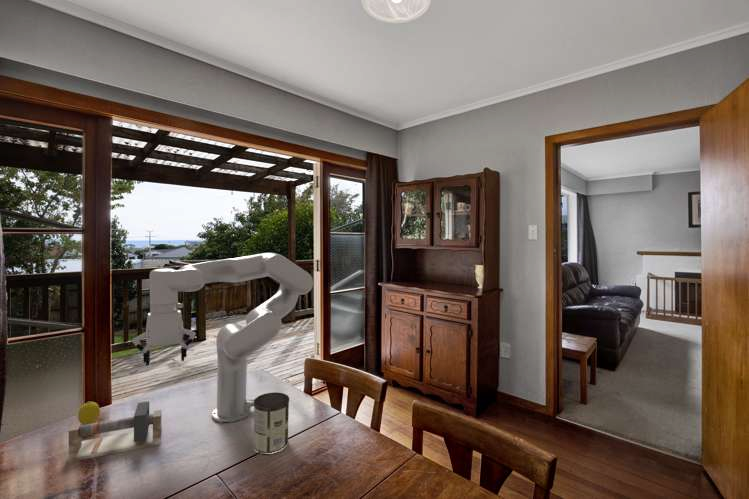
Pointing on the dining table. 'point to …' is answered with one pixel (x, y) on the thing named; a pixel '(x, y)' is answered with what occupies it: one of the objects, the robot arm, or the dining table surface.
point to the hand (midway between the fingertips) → (165, 361)
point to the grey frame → (141, 421)
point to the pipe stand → (110, 437)
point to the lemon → (88, 413)
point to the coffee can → (271, 422)
